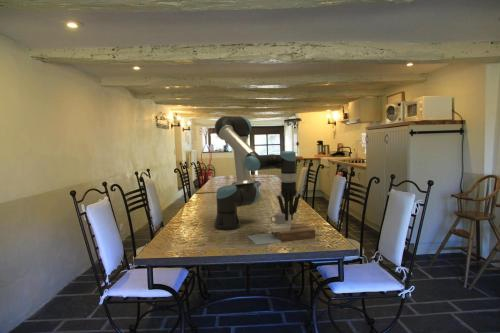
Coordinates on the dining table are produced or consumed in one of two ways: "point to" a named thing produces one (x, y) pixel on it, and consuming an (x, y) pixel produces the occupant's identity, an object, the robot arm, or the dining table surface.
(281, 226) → the beige flat block
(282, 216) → the cup
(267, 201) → the dining table surface
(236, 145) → the robot arm
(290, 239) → the block
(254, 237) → the mat
